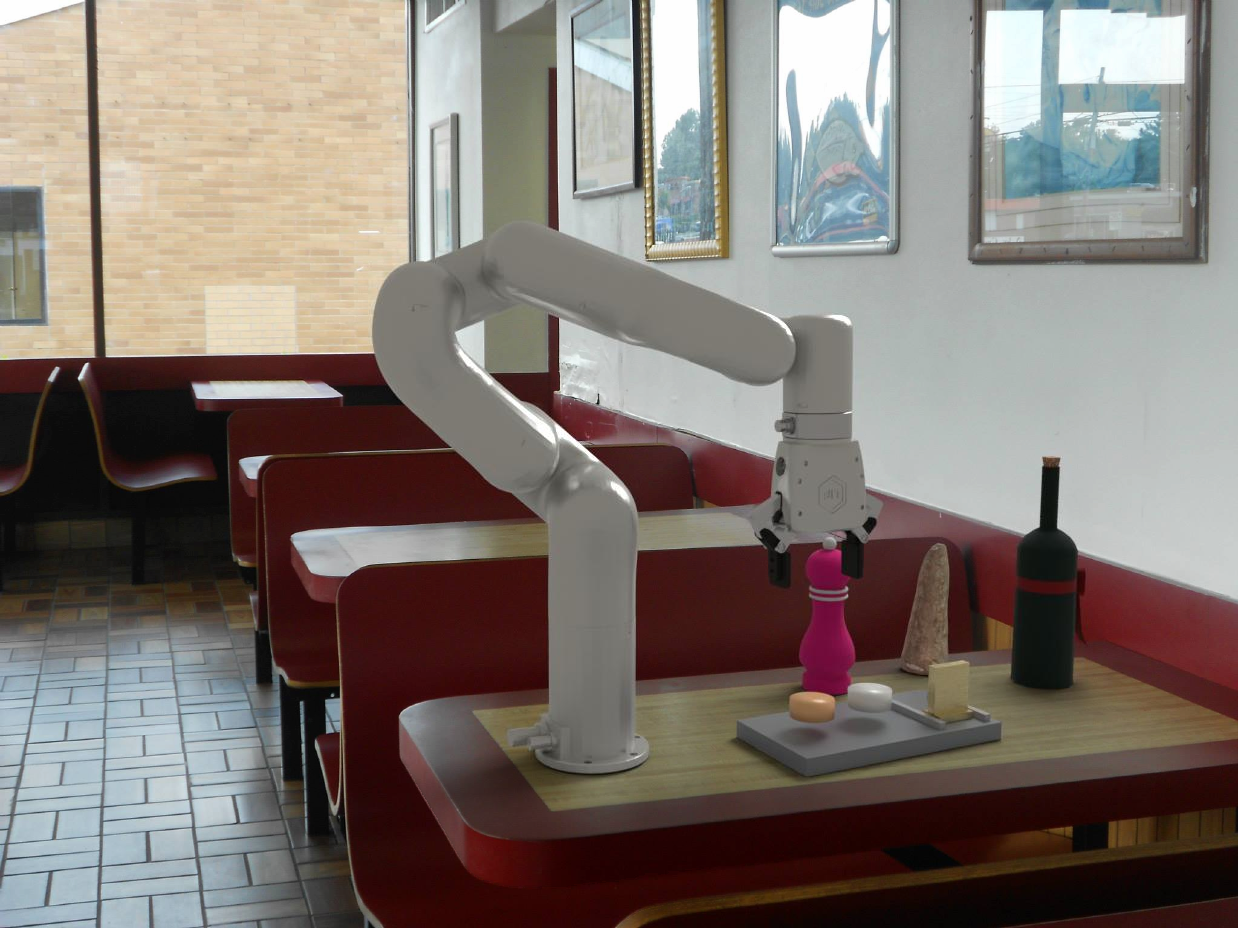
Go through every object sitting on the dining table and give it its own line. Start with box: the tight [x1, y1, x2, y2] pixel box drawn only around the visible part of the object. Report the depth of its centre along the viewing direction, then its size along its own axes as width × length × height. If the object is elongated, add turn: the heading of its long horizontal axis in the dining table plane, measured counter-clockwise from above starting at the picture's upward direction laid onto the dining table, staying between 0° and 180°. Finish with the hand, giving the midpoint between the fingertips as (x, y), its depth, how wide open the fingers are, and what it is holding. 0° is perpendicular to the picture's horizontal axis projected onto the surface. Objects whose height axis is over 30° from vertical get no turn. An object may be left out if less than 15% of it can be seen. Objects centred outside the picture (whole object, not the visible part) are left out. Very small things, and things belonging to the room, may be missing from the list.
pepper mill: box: [798, 536, 856, 696], centre depth 164 cm, size 7×7×20 cm
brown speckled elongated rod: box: [900, 542, 950, 676], centre depth 172 cm, size 6×18×6 cm
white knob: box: [846, 682, 893, 713], centre depth 145 cm, size 5×5×2 cm
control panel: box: [736, 689, 1003, 778], centre depth 145 cm, size 27×14×3 cm, turn 116°
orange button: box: [788, 691, 836, 723], centre depth 142 cm, size 5×5×2 cm
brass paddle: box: [922, 659, 973, 723], centre depth 146 cm, size 5×3×6 cm, turn 116°
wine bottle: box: [1010, 455, 1088, 690], centre depth 167 cm, size 8×10×30 cm
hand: (816, 581), depth 140 cm, fingers open, 9 cm apart
